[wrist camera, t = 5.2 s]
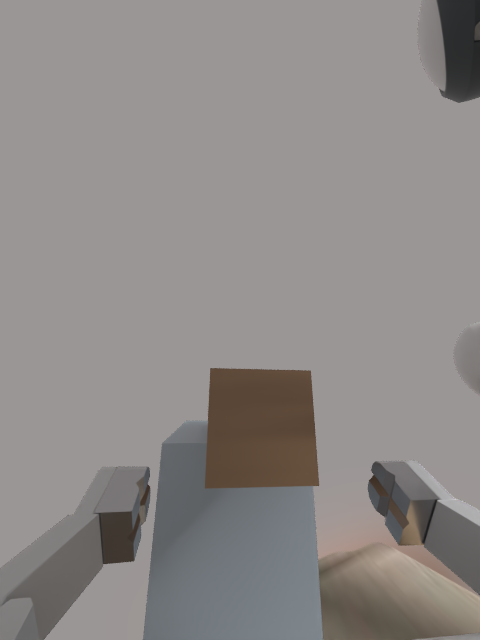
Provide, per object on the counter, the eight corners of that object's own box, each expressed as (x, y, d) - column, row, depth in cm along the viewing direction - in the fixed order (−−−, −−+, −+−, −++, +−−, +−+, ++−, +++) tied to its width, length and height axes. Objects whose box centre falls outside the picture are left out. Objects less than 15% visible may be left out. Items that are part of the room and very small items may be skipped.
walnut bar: (210, 424, 27) (211, 387, 28) (245, 424, 28) (245, 387, 29) (204, 488, 8) (210, 368, 9) (319, 485, 9) (310, 370, 10)
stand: (165, 713, 24) (186, 420, 31) (268, 702, 24) (264, 420, 32) (80, 1293, 8) (162, 443, 16) (360, 1202, 9) (310, 442, 17)
